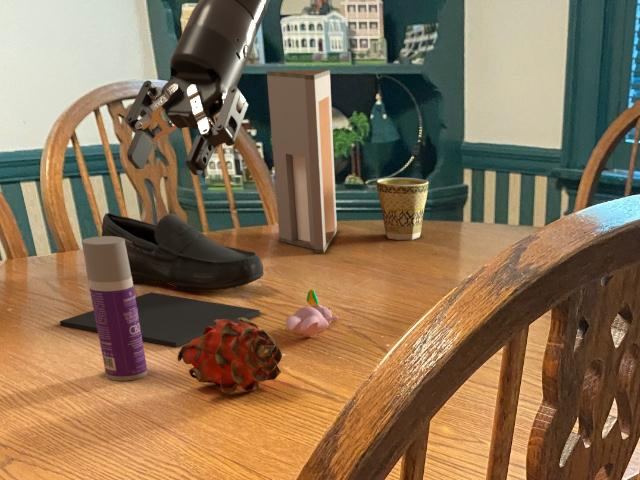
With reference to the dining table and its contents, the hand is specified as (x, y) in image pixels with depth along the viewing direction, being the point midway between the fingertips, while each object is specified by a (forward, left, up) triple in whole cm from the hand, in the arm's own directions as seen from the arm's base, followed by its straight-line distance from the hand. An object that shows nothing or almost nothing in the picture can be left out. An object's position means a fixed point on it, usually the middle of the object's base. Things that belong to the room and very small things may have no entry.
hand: (163, 167), depth 104 cm
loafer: (-23, +26, -21) cm, 41 cm away
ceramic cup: (-11, +79, -21) cm, 83 cm away
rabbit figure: (+10, +13, -21) cm, 27 cm away
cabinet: (-25, +64, -21) cm, 72 cm away
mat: (-12, +9, -21) cm, 26 cm away
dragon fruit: (+14, -9, -21) cm, 27 cm away
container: (0, -11, -21) cm, 24 cm away
